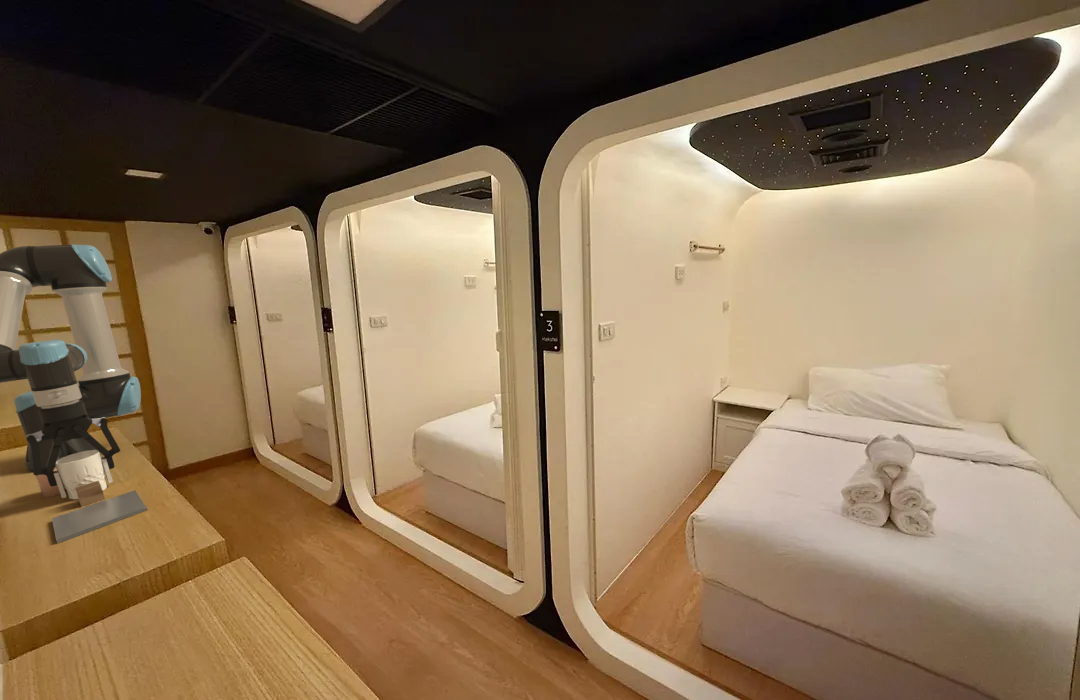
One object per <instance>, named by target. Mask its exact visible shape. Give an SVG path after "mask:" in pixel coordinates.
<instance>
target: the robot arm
mask: <svg viewBox="0 0 1080 700" xmlns="http://www.w3.org/2000/svg"><path fill="white" fill-rule="evenodd" d="M105 259H106V258H105V257H104V256H103V255H102V253H101V251H99V249H97V247H95V246H93V245H90V244H72V243H71V244H55V245H54V244H53V245H27V246H26V245H22V246H17V247H16V246H15V247H12V248H10V249H7V250H4V251H2V252H0V384H1V383H2V384H3V383H7V382H15V381H22V380H27V381H28V383H29V387H30V390H29V391H25V392H23V393H21V394H18V395H17V396H16V397H15V398H14V401H13V402H14V406H15V409H16V411H15V413H16V414H17V417H18V419H19V420H18V421H20V425H21V428H22V430H23V433H24V436H25V439H26V441H27V447H26V453H25V460H24V465H25V469H26V470H27V471H29V472H32V473H33V475H34V476H35V477H36V476H37V475H46V476H47V478H48V481H49V484H50V486H51V487H53V486H56V485H58V488H59V491H60V494H59V495H60V496H61V498H62V499H64V498H67V494H66V492H65V491H64V488H63V485H62V482H61V479H60V476H59V473H58V471H57V470H56V471H54V468H55V467H56V466H55V464H56V461H57V460H58V459H60V458H63V457H65V456H68V455H71V454H75V453H79V452H83V451H88V450H98V451H99V452H100V454H101V455H102V456H103V457H102V456H101V459H102V463H103V467H104V471H105V478H106V480H107V482H108V483H109V484H111V483H114V480H113V477H112V474H111V471H110V470H112V469H115V462H114V459H113V456H114V455H116V454H118V453H120V452H121V448H120V447H119V445H118V443H117V442H116V439H115V438H114V436H113V435H112V433H111V431H110V429H109V427H108V418H112V417H121V416H125V415H129V414H132V413H134V412H136V411H138V410H139V408H140V405H141V400H142V399H141V398H142V394H141V393H142V391H141V385H140V380H139V378H138V377H137V376H133V375H132V376H131V374H130V371H129V370H126V369H124V368H123V367H122V364H121V361H120V358H119V353H118V350H117V346H116V343H115V339H114V335H113V331H112V327H111V324H110V319H109V316H108V312H107V308H106V305H105V300H104V298H103V293H104V292H105V291H106V290H107V289H108V286H107V283H110V282H112V280H113V278H112V271H111V270H110V267H109V265H108V264H107V261H106V260H105ZM36 287H51V291H52V292H53V293H55V294H57V295H59V296H60V297H61V298H62V303H63V306H64V309H65V310H64V311H65V313H66V317H67V321H68V325H69V327H70V331H71V334H72V335H71V336H72V337H73V343H70V342H69V343H68V342H67V343H66V342H65V341H64V340H62V339H49V340H42V341H41V340H40V341H35V342H27V343H23V344H20V346H18V349H16V347H17V342H18V337H19V332H20V326H21V321H22V316H23V310H24V305H25V298H26V296H28V295H30V293H31V292H32V291H33V288H36ZM80 369H81V370H82V375H81V376H80V377H79V378H78V379H77V377H76V375H75V372H76V371H78V370H80ZM92 424H94V425H95V426H96V427H99V428H100V431H101V432H102V434H103V436H104V437H105V439H106V441H107V442H108V444H109V446H110V448H111V449H109V450H108V449H107V448H106V447H105V446H104V445H102V444H101V443H100V442H99V441H98V440H97V439H96V438H94V437H93V435H91V434H90V432H88V430H89V429H90V427H91V426H92Z"/></svg>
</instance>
